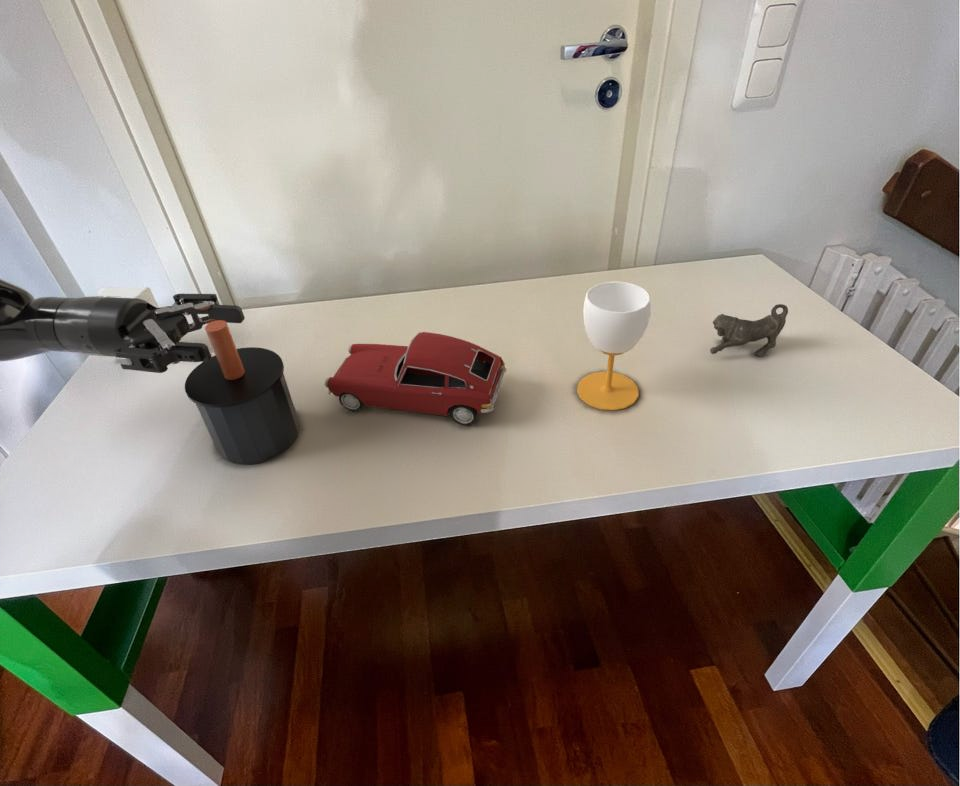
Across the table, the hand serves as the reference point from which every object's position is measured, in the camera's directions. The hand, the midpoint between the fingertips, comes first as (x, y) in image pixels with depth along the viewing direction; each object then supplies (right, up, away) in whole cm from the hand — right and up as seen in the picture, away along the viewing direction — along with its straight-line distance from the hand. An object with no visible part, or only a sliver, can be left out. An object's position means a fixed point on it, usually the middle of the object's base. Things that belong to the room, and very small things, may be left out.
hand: (225, 332), depth 73 cm
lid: (-1, -5, +5) cm, 7 cm away
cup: (+50, -7, +15) cm, 53 cm away
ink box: (-26, -1, +29) cm, 39 cm away
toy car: (+22, -8, +17) cm, 29 cm away
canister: (0, -13, +11) cm, 18 cm away
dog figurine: (+73, 0, +22) cm, 76 cm away
